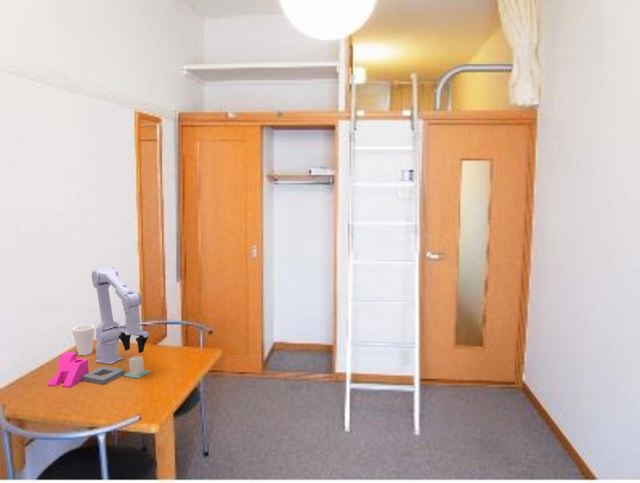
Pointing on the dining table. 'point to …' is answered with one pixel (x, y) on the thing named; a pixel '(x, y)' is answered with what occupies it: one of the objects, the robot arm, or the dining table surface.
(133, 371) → the block
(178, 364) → the dining table surface
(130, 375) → the pad
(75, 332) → the foam cup
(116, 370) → the pocket board
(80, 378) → the bracket
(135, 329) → the robot arm
